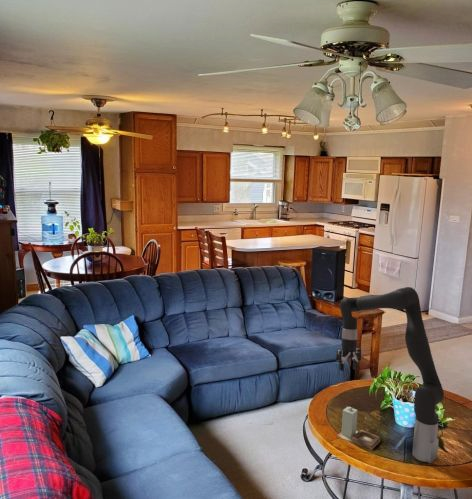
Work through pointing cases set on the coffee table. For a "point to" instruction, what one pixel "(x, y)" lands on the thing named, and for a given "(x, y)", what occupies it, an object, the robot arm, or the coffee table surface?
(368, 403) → the coffee table surface
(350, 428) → the cabinet block
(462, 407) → the coffee table surface
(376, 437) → the mount board
